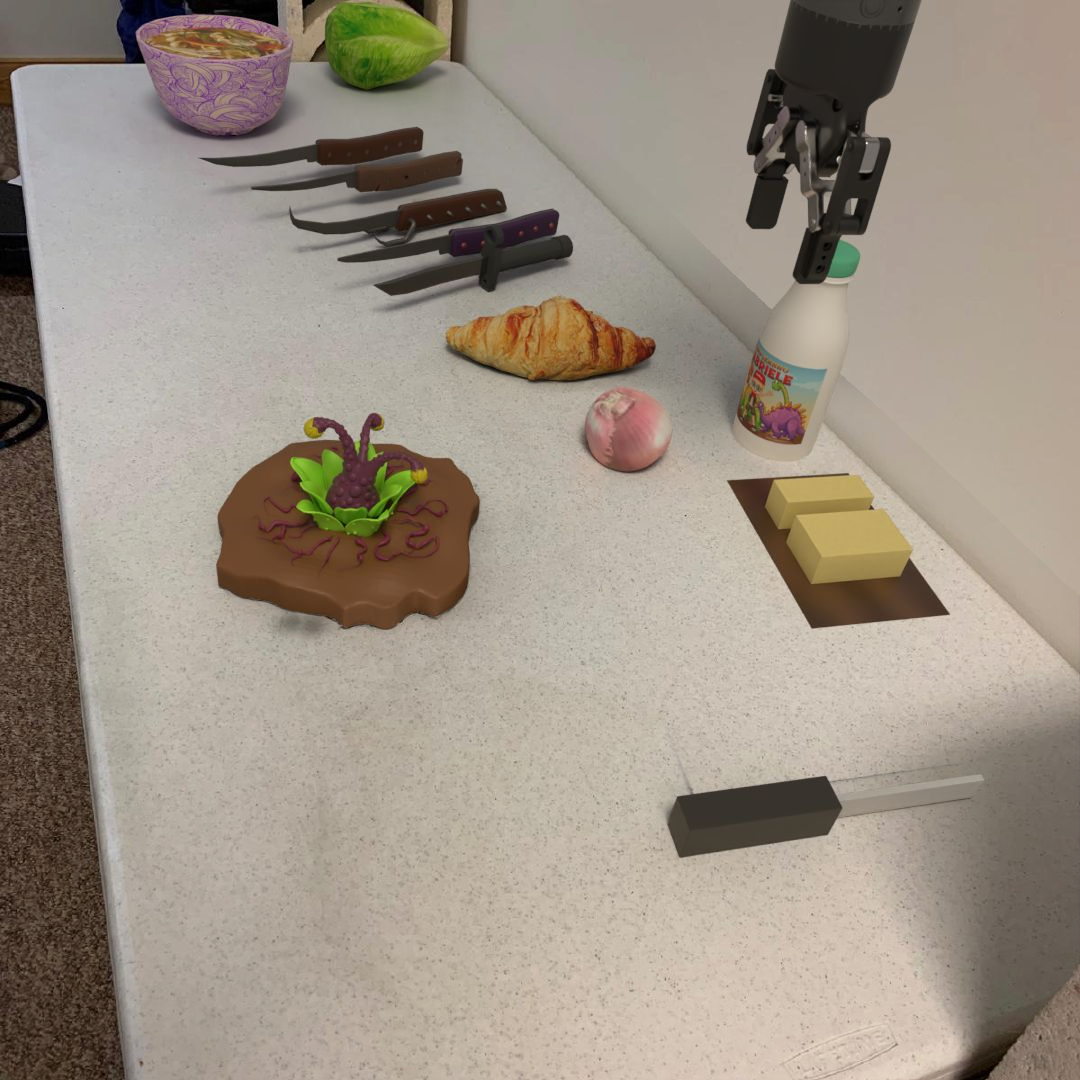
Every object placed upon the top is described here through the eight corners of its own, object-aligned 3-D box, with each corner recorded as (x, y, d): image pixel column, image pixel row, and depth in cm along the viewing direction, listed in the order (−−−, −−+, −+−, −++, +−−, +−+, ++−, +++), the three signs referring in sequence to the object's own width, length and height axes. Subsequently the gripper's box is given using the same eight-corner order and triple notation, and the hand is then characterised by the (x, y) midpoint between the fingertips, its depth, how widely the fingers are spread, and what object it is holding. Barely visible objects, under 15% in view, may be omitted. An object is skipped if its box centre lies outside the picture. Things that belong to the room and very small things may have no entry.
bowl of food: (156, 97, 144) (143, 9, 136) (297, 104, 148) (293, 19, 140) (140, 149, 130) (126, 55, 122) (298, 155, 134) (293, 64, 126)
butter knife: (960, 780, 67) (978, 754, 65) (979, 811, 65) (998, 785, 63) (667, 823, 62) (676, 795, 60) (679, 858, 60) (689, 830, 58)
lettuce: (463, 96, 159) (467, 14, 151) (341, 102, 151) (339, 16, 143) (430, 68, 168) (432, -11, 160) (313, 72, 159) (310, -10, 151)
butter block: (871, 535, 84) (883, 508, 82) (900, 576, 80) (913, 549, 78) (785, 542, 82) (795, 514, 80) (810, 584, 78) (822, 556, 76)
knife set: (196, 195, 118) (192, 129, 113) (419, 162, 138) (424, 104, 133) (362, 331, 101) (366, 260, 96) (591, 271, 120) (604, 209, 115)
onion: (567, 439, 91) (577, 372, 87) (642, 428, 94) (656, 363, 89) (601, 492, 86) (614, 424, 81) (680, 479, 89) (697, 413, 84)
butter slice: (847, 501, 87) (858, 474, 85) (863, 523, 85) (874, 496, 83) (764, 506, 85) (773, 479, 83) (778, 529, 83) (787, 502, 81)
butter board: (845, 481, 91) (848, 472, 90) (945, 623, 78) (950, 614, 78) (724, 488, 88) (726, 479, 88) (808, 637, 75) (811, 628, 75)
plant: (261, 446, 86) (250, 332, 78) (486, 474, 86) (496, 363, 79) (185, 611, 71) (162, 488, 63) (458, 644, 71) (467, 526, 64)
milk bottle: (765, 412, 98) (824, 219, 85) (826, 452, 94) (899, 256, 81) (713, 437, 94) (767, 237, 81) (775, 479, 90) (843, 277, 77)
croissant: (443, 396, 100) (443, 355, 93) (446, 311, 104) (447, 265, 96) (649, 406, 102) (666, 366, 95) (646, 322, 106) (662, 277, 98)
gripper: (971, 40, 56) (875, 302, 66) (857, -25, 66) (790, 211, 76) (851, 33, 54) (773, 303, 65) (753, -33, 64) (699, 210, 75)
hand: (782, 253), depth 70 cm, fingers open, 8 cm apart
